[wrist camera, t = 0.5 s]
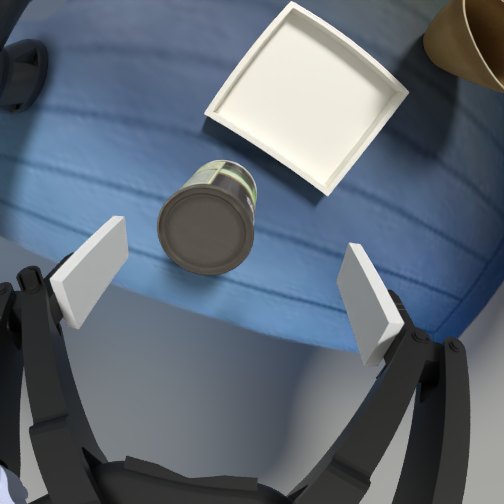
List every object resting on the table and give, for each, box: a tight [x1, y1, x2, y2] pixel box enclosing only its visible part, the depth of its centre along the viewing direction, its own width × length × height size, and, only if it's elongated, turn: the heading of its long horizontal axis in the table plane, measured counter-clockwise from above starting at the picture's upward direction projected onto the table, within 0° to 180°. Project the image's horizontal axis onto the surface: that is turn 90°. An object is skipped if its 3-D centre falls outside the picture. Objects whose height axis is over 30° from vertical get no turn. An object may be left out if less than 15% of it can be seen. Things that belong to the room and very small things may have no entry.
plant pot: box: [423, 0, 504, 93], centre depth 19 cm, size 15×15×16 cm
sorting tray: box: [204, 1, 409, 196], centre depth 31 cm, size 20×20×3 cm
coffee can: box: [157, 160, 257, 275], centre depth 34 cm, size 10×10×14 cm
